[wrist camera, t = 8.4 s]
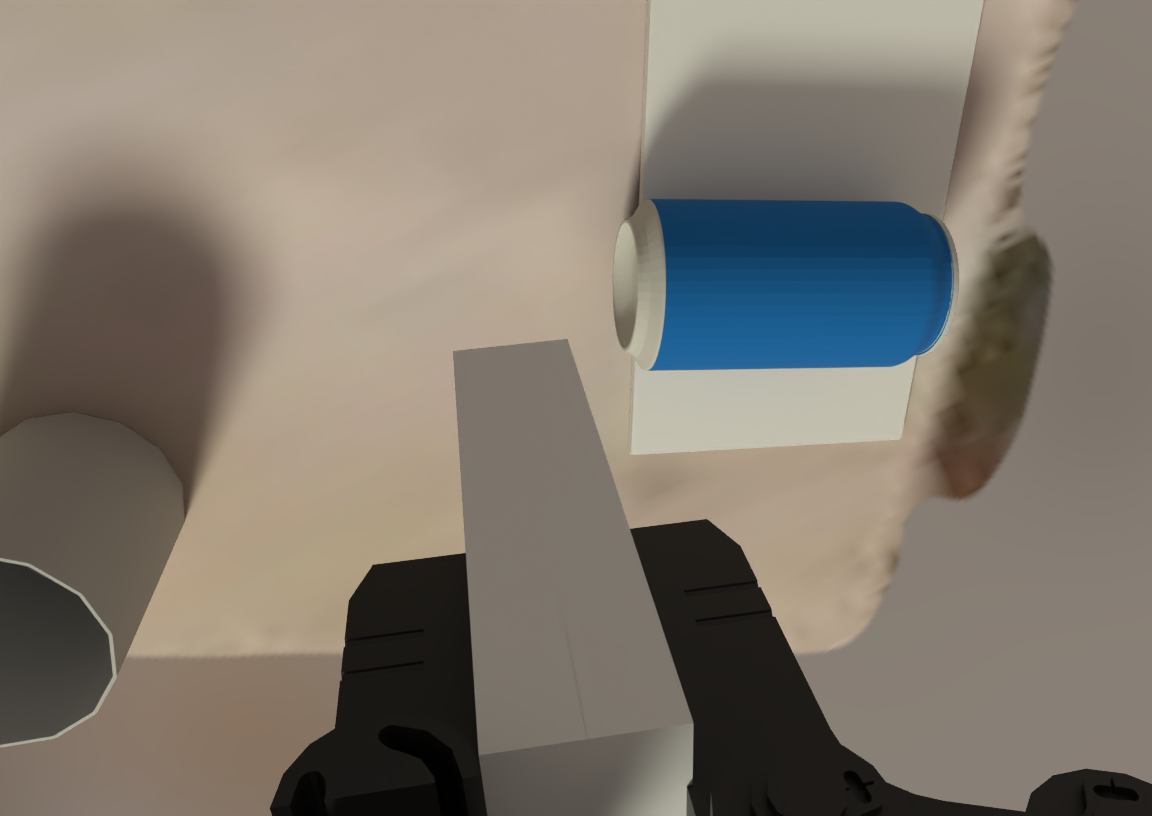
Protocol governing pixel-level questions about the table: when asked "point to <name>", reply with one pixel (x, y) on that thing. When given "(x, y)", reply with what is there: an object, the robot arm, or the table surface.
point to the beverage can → (781, 284)
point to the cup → (75, 564)
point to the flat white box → (795, 177)
